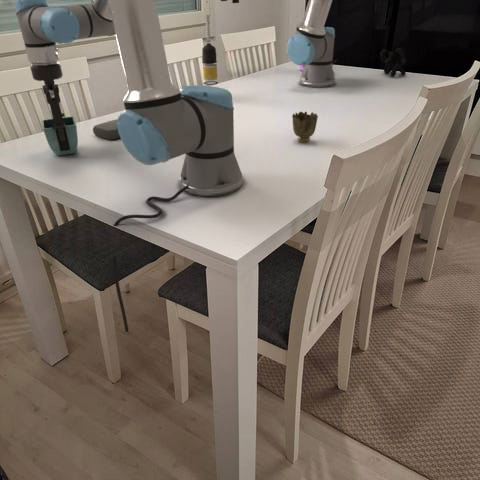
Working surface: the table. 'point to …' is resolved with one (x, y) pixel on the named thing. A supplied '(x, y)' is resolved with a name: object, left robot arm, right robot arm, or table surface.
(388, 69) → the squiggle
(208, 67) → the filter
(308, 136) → the cup
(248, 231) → the table surface
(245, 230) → the table surface
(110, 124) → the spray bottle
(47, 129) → the teal square planter
